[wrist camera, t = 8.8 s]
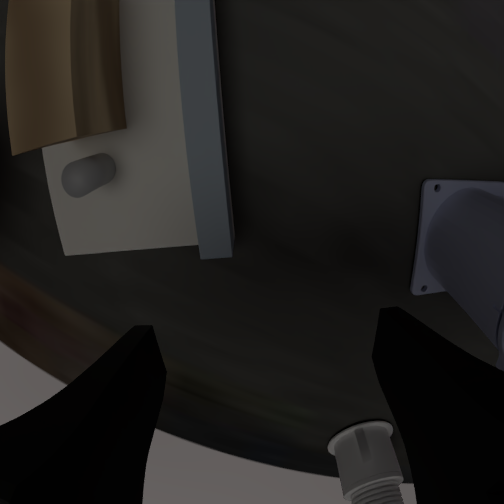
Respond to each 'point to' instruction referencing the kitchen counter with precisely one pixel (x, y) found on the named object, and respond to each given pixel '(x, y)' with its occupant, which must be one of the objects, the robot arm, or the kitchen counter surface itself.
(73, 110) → the brown tapered block
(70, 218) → the board
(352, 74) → the kitchen counter surface
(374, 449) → the white threaded pipe fitting
